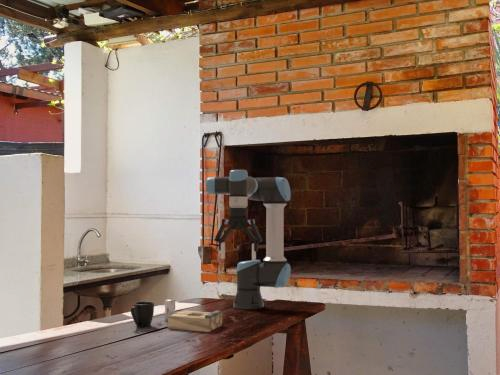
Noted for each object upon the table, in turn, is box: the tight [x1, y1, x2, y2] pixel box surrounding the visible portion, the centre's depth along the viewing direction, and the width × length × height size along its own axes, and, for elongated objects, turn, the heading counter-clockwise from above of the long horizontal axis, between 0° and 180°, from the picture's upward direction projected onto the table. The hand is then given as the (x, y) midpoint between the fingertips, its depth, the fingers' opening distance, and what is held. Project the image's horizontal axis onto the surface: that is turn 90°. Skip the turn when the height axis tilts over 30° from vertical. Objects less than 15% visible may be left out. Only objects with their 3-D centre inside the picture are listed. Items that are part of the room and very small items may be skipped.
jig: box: [167, 309, 223, 333], centre depth 229 cm, size 14×18×6 cm
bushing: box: [164, 298, 176, 323], centre depth 242 cm, size 4×4×9 cm
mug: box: [130, 301, 155, 328], centre depth 229 cm, size 8×12×10 cm
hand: (238, 259), depth 228 cm, fingers open, 13 cm apart
